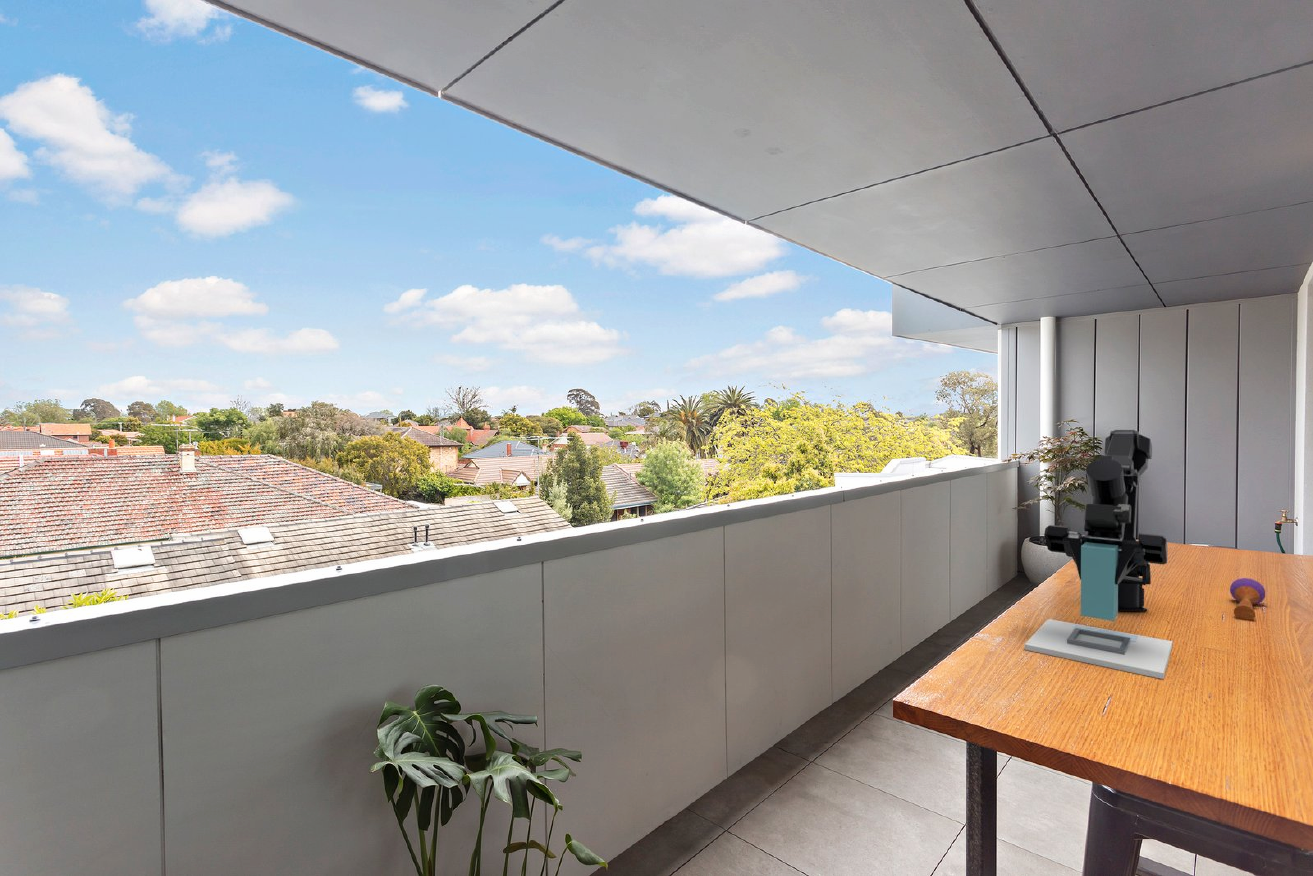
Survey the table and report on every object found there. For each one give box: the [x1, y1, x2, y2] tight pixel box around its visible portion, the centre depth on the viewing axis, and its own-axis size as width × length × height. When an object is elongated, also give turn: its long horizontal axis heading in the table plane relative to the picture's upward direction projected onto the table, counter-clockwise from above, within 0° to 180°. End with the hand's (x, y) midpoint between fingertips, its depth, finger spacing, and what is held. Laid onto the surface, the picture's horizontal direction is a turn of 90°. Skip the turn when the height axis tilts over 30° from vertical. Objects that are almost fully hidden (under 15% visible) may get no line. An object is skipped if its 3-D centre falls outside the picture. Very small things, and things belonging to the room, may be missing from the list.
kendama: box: [1229, 577, 1266, 622], centre depth 138 cm, size 6×6×20 cm
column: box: [1080, 542, 1119, 622], centre depth 115 cm, size 5×5×13 cm
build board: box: [1024, 618, 1173, 680], centre depth 115 cm, size 20×20×2 cm
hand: (1098, 580), depth 114 cm, fingers closed on column, 5 cm apart
